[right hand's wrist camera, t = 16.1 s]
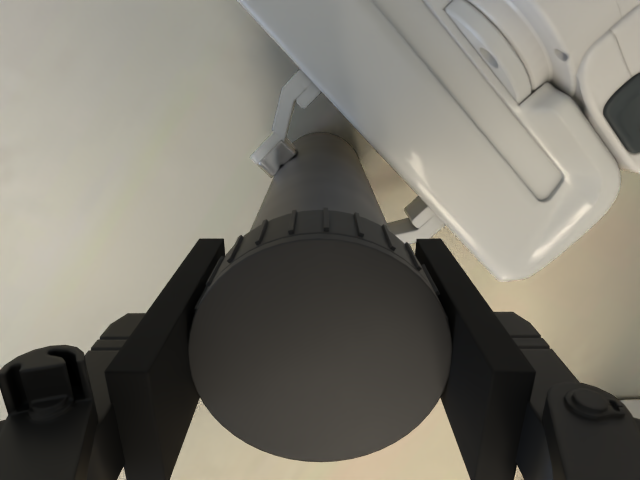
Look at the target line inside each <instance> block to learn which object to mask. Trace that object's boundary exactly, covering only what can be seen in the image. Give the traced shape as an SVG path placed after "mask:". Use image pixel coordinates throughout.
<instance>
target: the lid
mask: <svg viewBox="0 0 640 480" xmlns="http://www.w3.org/2000/svg"><path fill="white" fill-rule="evenodd" d="M439 294H440V293H439V291H438V289H437V287H436V286H435V284H434V282H433V280H432V278H431V276H430V274H429V272H428V271H427V269H426V267H425V265H424V264H423V265H421V264H420V263H419V261H418V260H417V258H416V256H415V254H414V252H413V250H412V248H411V246H410V244H409V243H408V242H406V243H404V242H402V241H401V240H400V239H399V238H398V237H397V236H395V235H394V234H393V233H392V232H390V231H389V230H388V228H387V226H386V225H384V224H383V225H382V226H381V225H379V224H377V223H375V222H373V221H370V220H368V219H366V218H363V217H360V216H359V213H356V212H355V213H354V214H351V213H345V212H340V211H332V210H328V208H325V207H324V209H323V210H309V211H300V212H297V210H292V213H290V214H286V215H283V216H280V217H277V218H274V219H272V220H270V221H268V220H267V219H265V220H263V222H262V225H259V226H258V227H256V228H255V229H253V230H252V231H250V232H249V233H247V234H246V235H245V236H244V237H243V236H242V235H240V236H239V237H238V239H237V241H236V243H235V245H234V246H233V247H232V248H231V250H230V251H229V252H228V253H227V254H226V256H225V257H223V256H221V257H220V259H219V261H218V263H217V265H216V266H215V268H214V270H213V272H212V274H211V276H210V278H209V279H208V281H207V283H206V287H205V289H204V291H203V293H202V295H201V297H200V298H199V300H198V302H197V304H196V306H195V308H194V311H193V312H195V315H194V317H193V320H192V324H191V327H190V331H189V338H188V355H189V364H190V371H191V377H192V380H193V382H194V385H195V388H196V390H197V392H198V394H199V396H200V398H201V400H202V401H203V403H204V405H205V406H206V407H207V409H208V410H209V411H210V413H211V414H212V415H213V416H214V418H215V419H216V420H217V421H218V422H219V423H220V424H221V425H222V426H223V427H225V428H226V429H227V430H228V431H229V432H231V433H232V434H233V435H234V436H236V437H238V438H239V439H241V440H242V441H244V442H245V443H247V444H249V445H251V446H253V447H255V448H257V449H259V450H262V451H264V452H267V453H270V454H273V455H275V456H279V457H283V458H287V459H292V460H299V461H308V462H332V461H341V460H348V459H353V458H357V457H361V456H365V455H368V454H371V453H373V452H376V451H379V450H381V449H383V448H385V447H387V446H389V445H391V444H393V443H395V442H397V441H398V440H400V439H401V438H403V437H404V436H406V435H407V434H409V433H410V432H411V431H412V430H413V429H415V428H416V427H417V426H418V425H419V424H420V423H421V422H422V421H423V420H424V419H425V418H426V417H427V416H428V415H429V413H430V412H431V411H432V409H433V408H434V406H435V405H436V404H437V402H438V400H439V399H440V397H441V395H442V393H443V391H444V389H445V386H446V383H447V380H448V378H449V374H450V366H451V358H452V348H453V345H452V336H451V330H450V326H449V323H448V322H449V318H448V316H447V314H446V312H445V310H444V308H443V306H442V304H441V302H440V301H439V299H438V297H437V295H439Z"/></svg>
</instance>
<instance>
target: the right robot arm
mask: <svg viewBox="0 0 640 480" xmlns="http://www.w3.org/2000/svg"><path fill="white" fill-rule="evenodd" d="M221 256H223V257H225V247H224V239H199V240H198V241H197V243H196V244H195V246H194V247H193V248H192V250H191V251H190V253H189V254H188V255H187V257H186V258H185V260H184V261H183V262H182V264H181V265H180V267H179V268H178V269H177V271H176V272H175V274H174V275H173V276H172V278H171V279H170V281H169V282H168V283H167V285H166V286H165V288H164V289H163V290H162V292H161V293H160V295H159V296H158V297H157V299H156V300H155V301H154V303H153V304H152V306H151V307H150V308H149V310H148V311H147V313H128V314H126V315H124V316H123V317H121V318H120V319H118V320H117V321H115V322H113V323H112V324H110V326H109V327H108V328H107V329H106V330H105V332H104V333H103V334H102V335H101V336H100V340H97V341H96V342H95V344H94V345H93V346H92V347H91V351H88V352H87V353H86V355H85V356H84V352H82V351H81V350H80V349H79V348H77V347H73V346H68V345H56V346H48V347H44V348H40V349H35V350H32V351H30V352H28V353H25V354H23V355H21V356H18V357H17V358H15V359H13V360H12V361H10V362H9V363H7V364H6V365H4V366H3V368H2V369H1V370H0V390H1V393H2V396H3V399H4V402H5V406H6V409H7V412H8V417H7V419H6V420H3V421H0V480H117V478H118V476H119V474H120V472H121V470H122V468H123V466H124V470H125V475H126V480H170V477H171V475H172V472H173V469H174V466H175V464H176V461H177V458H178V455H179V453H180V450H181V447H182V445H183V442H184V439H185V436H186V434H187V431H188V428H189V426H190V423H191V420H192V417H193V415H194V412H195V409H196V407H197V404H198V401H199V398H200V396H199V394H198V392H197V390H196V388H195V385H194V382H193V380H192V377H191V371H190V364H189V355H188V338H189V331H190V327H191V324H192V320H193V317H194V315H195V312H193V311H194V308H195V306H196V304H197V302H198V300H199V298H200V297H201V295H202V293H203V291H204V289H205V287H206V283H207V281H208V279H209V278H210V276H211V274H212V272H213V270H214V268H215V266H216V265H217V263H218V261H219V259H220V257H221ZM415 256H416V258H417V260H418V261H419V263H420V264H421V265H423V264H424V265H425V267H426V269H427V271H428V272H429V274H430V276H431V278H432V280H433V282H434V284H435V286H436V287H437V289H438V291H439V293H440V294H439V295H437V297H438V299H439V301H440V302H441V304H442V306H443V308H444V310H445V312H446V314H447V316H448V318H449V322H448V323H449V326H450V330H451V336H452V345H453V348H452V358H451V366H450V374H449V378H448V380H447V383H446V386H445V389H444V391H443V393H442V395H441V397H440V398H441V400H442V403H443V406H444V408H445V411H446V414H447V417H448V419H449V422H450V425H451V428H452V430H453V433H454V436H455V438H456V441H457V444H458V447H459V449H460V452H461V455H462V457H463V460H464V463H465V466H466V468H467V471H468V474H469V476H470V479H471V480H514V476H515V471H516V466H517V465H518V467H519V469H520V471H521V473H522V475H523V477H524V479H525V480H640V419H638V418H634V417H633V416H632V414H631V413H630V411H629V410H628V409H627V407H626V406H625V405H624V404H623V403H622V402H621V401H619V400H618V399H617V398H616V397H614V396H613V395H612V394H610V393H608V392H605V391H603V390H601V389H599V388H597V387H594V386H591V385H587V384H584V383H580V382H579V381H578V380H577V379H576V377H575V376H574V375H573V374H572V373H571V371H570V370H569V369H568V368H567V367H566V365H565V364H564V363H563V362H562V361H561V359H560V358H559V357H558V356H557V355H556V353H555V352H554V351H553V350H552V349H550V346H549V345H548V344H547V343H546V341H545V340H544V339H543V338H541V335H540V334H539V333H538V332H537V331H536V329H535V328H534V327H533V326H532V325H531V323H530V322H528V321H526V320H525V319H523V318H522V317H520V316H518V315H517V314H515V313H514V312H493V311H492V309H491V308H490V307H489V305H488V304H487V302H486V301H485V300H484V298H483V297H482V295H481V294H480V293H479V291H478V290H477V288H476V287H475V286H474V284H473V283H472V282H471V280H470V279H469V277H468V276H467V275H466V273H465V272H464V270H463V269H462V268H461V266H460V265H459V263H458V262H457V261H456V259H455V258H454V256H453V255H452V254H451V252H450V251H449V249H448V248H447V247H446V245H445V244H444V242H443V241H442V240H441V239H416V251H415Z"/></svg>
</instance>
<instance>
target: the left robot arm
mask: <svg viewBox="0 0 640 480" xmlns="http://www.w3.org/2000/svg"><path fill="white" fill-rule="evenodd" d="M237 1H238V2H239V3H240V4H241V6H242V7H243V8H244V9H245V10H246V11H247V12H248V13H249V14H250V15H251V16H252V17H253V18H254V20H255V21H256V22H257V23H258V24H259V25H260V26H261V27H262V28H263V29H264V30H265V31H266V32H267V34H268V35H269V36H270V37H271V38H272V39H273V40H274V41H275V42H276V43H277V44H278V45H279V46H280V48H281V49H282V50H283V51H284V52H285V53H286V54H287V55H288V56H289V57H290V58H291V59H292V60H293V61H294V63H295V64H296V65H297V66H298V67H299V68H300V69H299V70H298V71H297V72H296V73H295V74H294V75H293V77H292V78H291V79H290V80H289V81H288V82H287V83H286V84H285V85H284V86H283V87H282V89H281V94H280V98H279V102H278V106H277V111H276V115H275V119H274V123H273V128H272V131H273V132H272V133H271V135H270V136H269V137H268V138H267V139H266V140H265V141H264V142H263V143H262V144H261V145H260V146H259V147H258V148H257V149H256V150H255V151H254V153H253V154H252V155H251V156H250V157H249V158H250V159H251V160H252V161H253V162H254V163H255V164H257V165H258V166H259V167H260V168H261V169H262V170H263V171H264V172H265V173H266V174H267V175H268V176H269V177H271V178H272V177H273V176H274V175H275V174H276V173H277V172H278V171H279V170H280V168H281V165H283V164H286V163H287V162H288V161H289V160H290V159H291V158H292V157H293V156H294V155H295V154H296V151H297V148H296V147H295V146H294V145H293V144H292V143H291V142H290V141H289V140H288V138H287V133H288V129H289V125H290V121H291V117H292V113H293V110H294V106H295V102H296V100H297V104H298V105H299V106H300V107H301V108H306V107H307V106H308V105H309V104H310V103H311V102H312V101H313V100H314V99H315V98H316V97H317V96H318V95H319V94H320V93H321V92H322V93H323V94H324V95H325V96H326V97H327V98H328V99H329V100H330V101H331V102H332V103H333V105H334V106H335V107H336V108H337V109H338V110H339V111H340V112H341V113H342V114H343V115H344V116H345V117H346V118H347V120H348V121H349V122H350V123H351V124H352V125H353V126H354V127H355V128H356V129H357V130H358V131H359V132H360V134H361V135H362V136H363V137H364V138H365V139H366V140H367V141H368V142H369V143H370V144H371V145H372V146H373V148H374V149H375V150H376V151H377V152H378V153H379V154H380V155H381V156H382V157H383V158H384V159H385V160H386V162H387V163H388V164H389V165H390V166H391V167H392V168H393V169H394V170H395V171H396V172H397V173H398V174H399V175H400V177H401V178H402V179H403V180H404V181H405V182H406V183H407V184H408V185H409V186H410V187H411V188H412V189H413V191H414V192H415V193H416V194H417V195H418V197H417V198H416V199H414V200H413V201H412V202H411V203H410V204H409V205H408V206H407V207H406V208H405V213H406V214H407V216H408V218H406V219H402V220H398V221H395V222H391V223H387V225H388V227H389V229H390V232H392V233H393V234H394V235H395V236H397V237H398V238H399V239H400V240H401V241H402V242H404V243H406V242H408V243H409V244H412V243H416V239H430V238H431V237H432V236H433V235H434V234H436V233H437V232H438V231H439V230H440V229H442V228H443V227H444V226H445V225H446V226H447V227H448V228H449V229H450V230H451V231H452V232H453V234H454V235H455V236H456V237H457V238H458V239H459V240H460V241H461V242H462V243H463V244H464V245H465V246H466V248H467V249H468V250H469V251H470V252H471V253H472V254H473V255H474V256H475V257H476V258H477V259H478V260H479V262H480V263H481V264H482V265H483V266H484V267H485V268H486V269H487V270H488V271H489V272H490V273H491V274H492V275H493V277H494V278H495V279H496V280H498V281H500V282H509V281H518V280H524V279H527V278H529V277H531V276H533V275H534V274H536V273H537V272H538V271H540V270H541V269H543V268H544V267H545V266H547V265H548V264H549V263H551V262H552V261H553V260H554V259H556V258H557V257H558V256H559V255H561V254H562V253H563V252H564V251H565V250H567V249H568V248H569V247H570V246H571V245H573V244H574V243H575V242H576V241H577V240H578V239H580V238H581V237H582V236H583V235H584V234H585V233H586V232H587V231H588V230H590V229H591V228H592V227H593V226H594V225H595V224H596V223H597V222H598V221H599V220H600V219H601V218H602V217H603V216H604V215H605V214H606V213H607V211H608V210H609V209H610V208H611V206H612V205H613V203H614V202H615V200H616V198H617V196H618V193H619V190H620V186H621V173H620V170H624V171H629V172H634V173H640V0H237ZM619 401H621V402H622V403H623V404H624V405H625V406H626V407H627V409H628V410H629V411H630V413H631V414H632V416H633V417H634V418H638V419H640V399H629V400H619Z"/></svg>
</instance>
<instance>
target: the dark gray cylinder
mask: <svg viewBox="0 0 640 480" xmlns="http://www.w3.org/2000/svg"><path fill="white" fill-rule="evenodd" d="M292 144H293V145H294V146H295V147H296V148H297V151H296V154H295V155H294V156H293V157H292V158H291V159H290V160H289V161H288V162H287V163H286V164H283V165H281V168H280V170H279V171H278V172H277V173H276V174H275V175H274V178H273V180H272V182H271V184H270V187H269V189H268V191H267V194H266V196H265V198H264V200H263V203H262V205H261V207H260V209H259V212H258V214H257V216H256V219H255V221H254V223H253V225H252V228H251V230H250V231H252V230H253V229H255V228H256V227H258V226H259V225H262V222H263V220H265V219H267V220H268V221H270V220H272V219H274V218H277V217H280V216H283V215H286V214H290V213H292V210H297V212H300V211H309V210H323V209H324V207H325V208H328V210H332V211H340V212H345V213H351V214H354V213H355V212H356V213H359V216H360V217H363V218H366V219H368V220H370V221H373V222H375V223H377V224H379V225H381V226H382V225H383V224H384V225H386V226H387V228H388V230H389V231H390V229H389V227H388V225H387V223H386V220H385V218H384V216H383V213H382V211H381V209H380V207H379V204H378V202H377V200H376V197H375V195H374V193H373V191H372V188H371V186H370V184H369V181H368V179H367V177H366V174H365V172H364V170H363V168H362V165H361V163H360V161H359V158H358V156H357V154H356V152H355V151H354V149H353V148H352V147H351V146H350V145H349V144H348V143H347V142H346V141H345V140H343V139H342V138H340V137H338V136H336V135H333V134H329V133H321V132H320V133H311V134H308V135H305V136H303V137H300V138H299V139H297V140H296V141H294V142H293V143H292Z"/></svg>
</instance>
